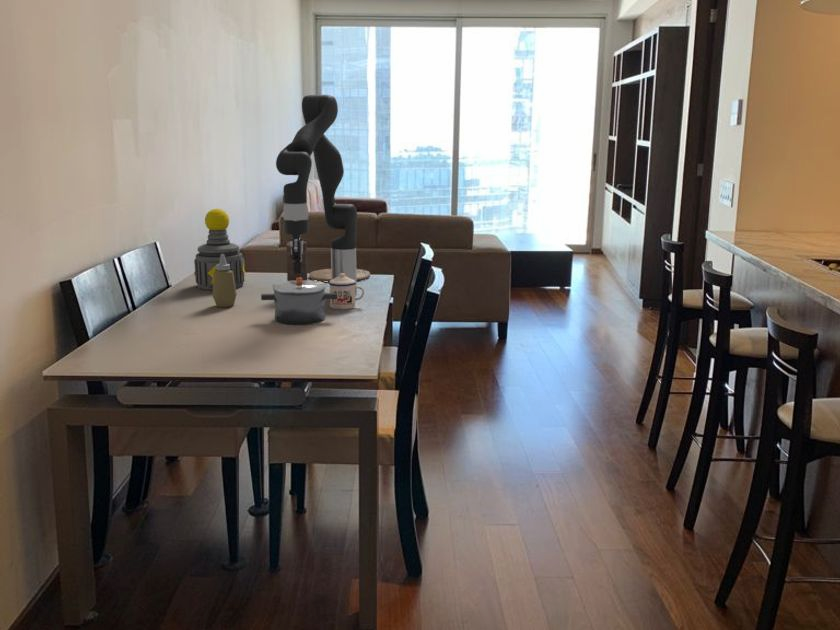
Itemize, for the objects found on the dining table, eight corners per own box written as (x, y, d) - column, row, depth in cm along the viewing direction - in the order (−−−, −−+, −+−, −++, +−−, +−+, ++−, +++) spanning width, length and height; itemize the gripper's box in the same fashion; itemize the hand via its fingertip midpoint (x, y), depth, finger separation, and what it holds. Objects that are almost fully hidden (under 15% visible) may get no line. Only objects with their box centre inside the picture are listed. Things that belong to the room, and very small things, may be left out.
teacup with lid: (328, 310, 273) (328, 276, 270) (330, 304, 282) (329, 271, 279) (364, 309, 274) (363, 276, 271) (364, 304, 282) (364, 271, 280)
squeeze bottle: (236, 302, 284) (233, 251, 280) (238, 307, 276) (235, 255, 272) (212, 304, 281) (209, 253, 277) (214, 308, 274) (211, 256, 270)
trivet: (331, 270, 349) (331, 266, 349) (381, 275, 338) (381, 271, 337) (297, 280, 328) (296, 275, 327) (349, 285, 316) (349, 281, 316)
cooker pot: (265, 314, 267) (263, 284, 264) (337, 312, 269) (337, 283, 266) (259, 325, 251) (258, 294, 249) (337, 324, 253) (336, 293, 251)
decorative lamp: (249, 281, 322) (246, 206, 316) (239, 290, 304) (236, 211, 297) (202, 281, 322) (197, 206, 315) (189, 290, 304) (184, 211, 297)
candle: (309, 297, 293) (307, 242, 288) (288, 298, 291) (286, 243, 286) (306, 293, 300) (305, 239, 295) (286, 294, 298) (284, 240, 294)
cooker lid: (275, 284, 265) (274, 274, 264) (326, 283, 266) (325, 273, 266) (270, 294, 249) (270, 283, 248) (324, 293, 250) (324, 283, 249)
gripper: (285, 215, 254) (287, 269, 258) (282, 220, 241) (284, 277, 245) (309, 215, 255) (310, 269, 259) (307, 220, 242) (309, 276, 246)
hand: (297, 273), depth 252 cm, fingers closed
